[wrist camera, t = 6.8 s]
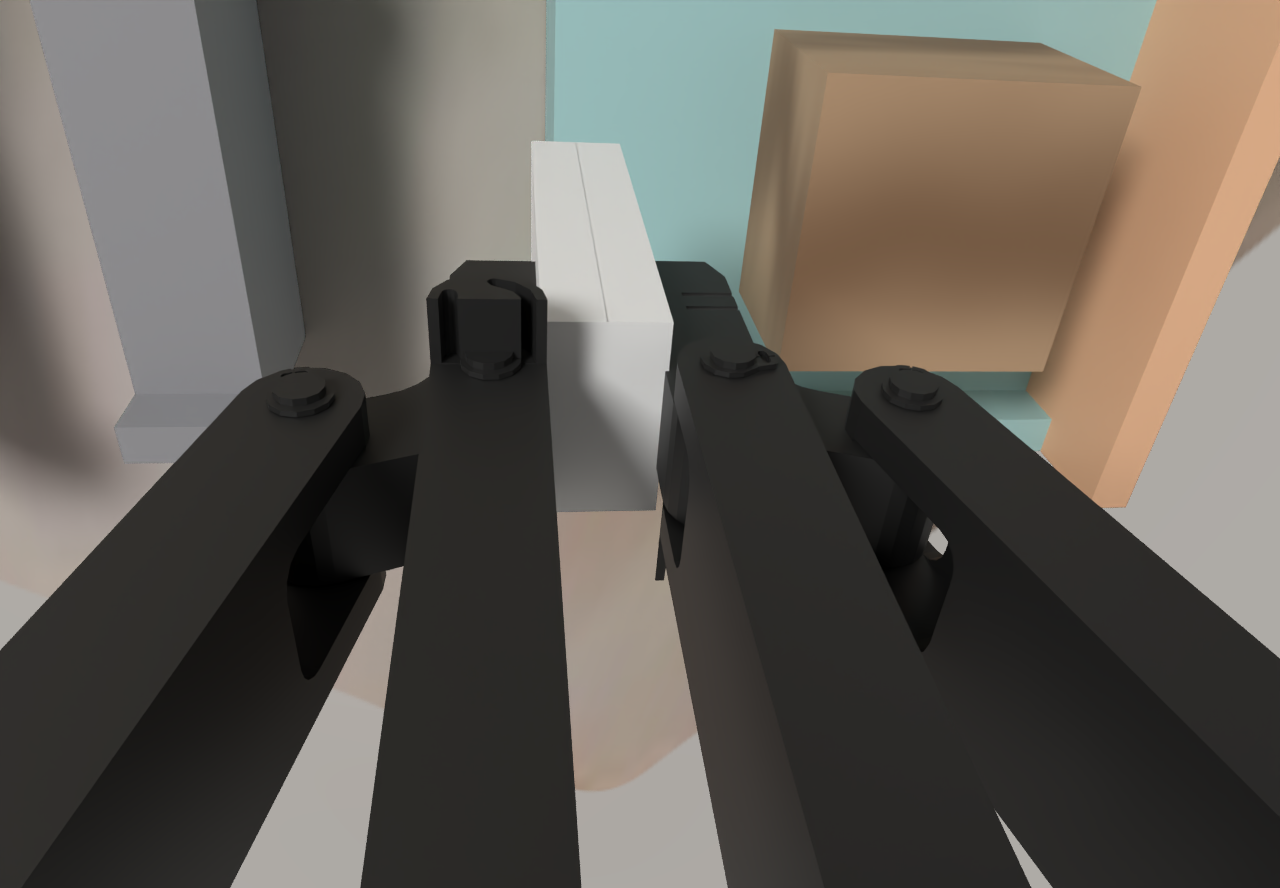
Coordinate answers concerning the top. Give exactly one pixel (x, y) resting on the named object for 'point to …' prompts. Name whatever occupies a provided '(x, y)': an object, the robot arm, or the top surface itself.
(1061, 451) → the gap walkway
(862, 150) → the walnut block
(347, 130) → the top surface
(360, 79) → the top surface
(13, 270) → the top surface
